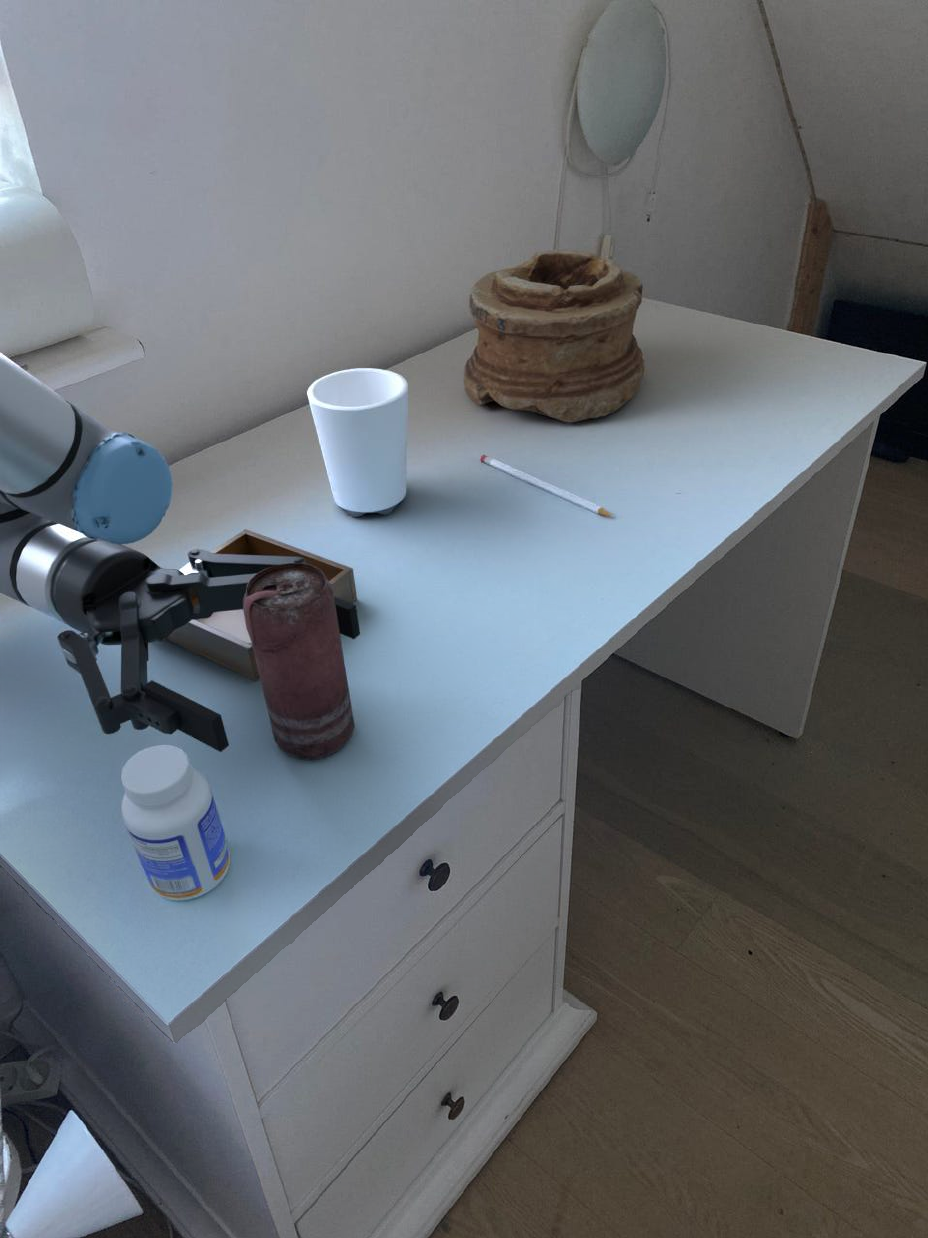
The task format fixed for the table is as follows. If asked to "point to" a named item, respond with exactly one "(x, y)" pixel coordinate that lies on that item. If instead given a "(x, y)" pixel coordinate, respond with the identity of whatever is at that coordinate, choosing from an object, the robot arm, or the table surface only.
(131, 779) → the pill bottle
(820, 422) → the table surface
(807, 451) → the table surface
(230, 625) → the tray
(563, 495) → the pencil
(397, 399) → the cup
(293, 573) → the can
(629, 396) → the container
